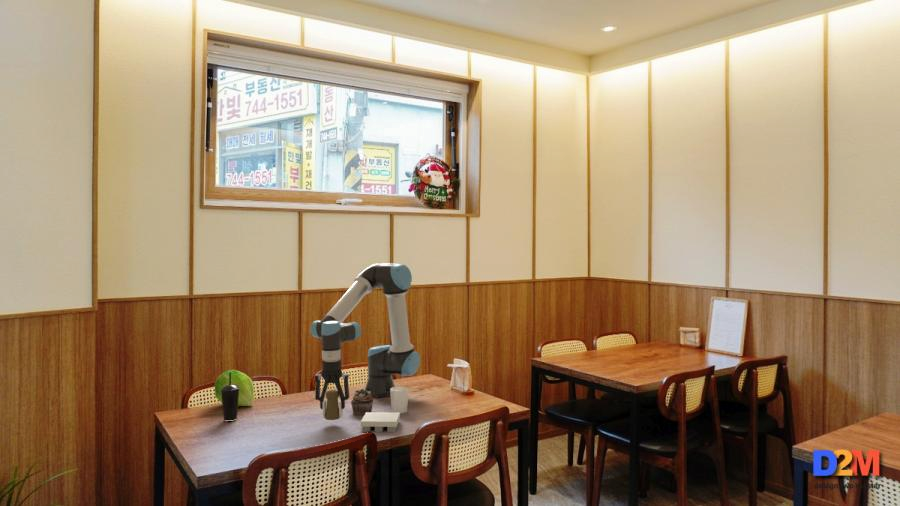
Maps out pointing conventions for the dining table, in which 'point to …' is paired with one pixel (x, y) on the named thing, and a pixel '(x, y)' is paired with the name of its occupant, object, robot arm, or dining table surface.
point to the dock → (380, 421)
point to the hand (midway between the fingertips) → (332, 416)
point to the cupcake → (362, 402)
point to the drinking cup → (230, 400)
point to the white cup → (399, 399)
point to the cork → (332, 405)
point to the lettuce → (240, 380)
